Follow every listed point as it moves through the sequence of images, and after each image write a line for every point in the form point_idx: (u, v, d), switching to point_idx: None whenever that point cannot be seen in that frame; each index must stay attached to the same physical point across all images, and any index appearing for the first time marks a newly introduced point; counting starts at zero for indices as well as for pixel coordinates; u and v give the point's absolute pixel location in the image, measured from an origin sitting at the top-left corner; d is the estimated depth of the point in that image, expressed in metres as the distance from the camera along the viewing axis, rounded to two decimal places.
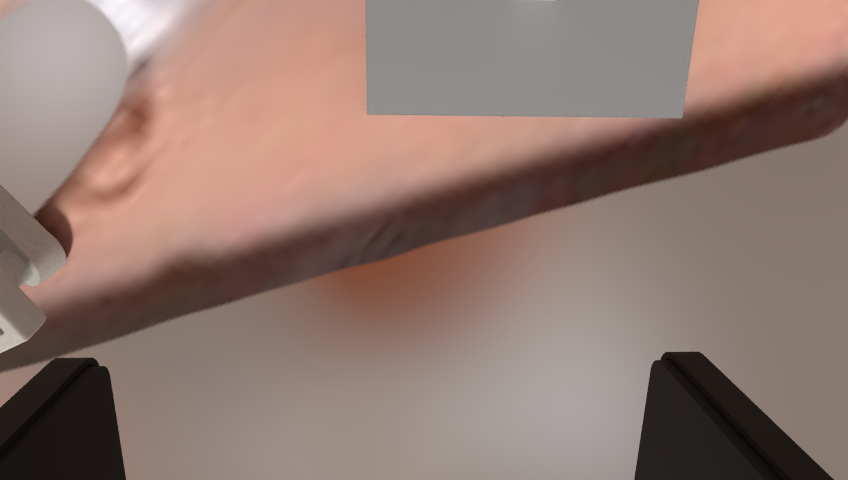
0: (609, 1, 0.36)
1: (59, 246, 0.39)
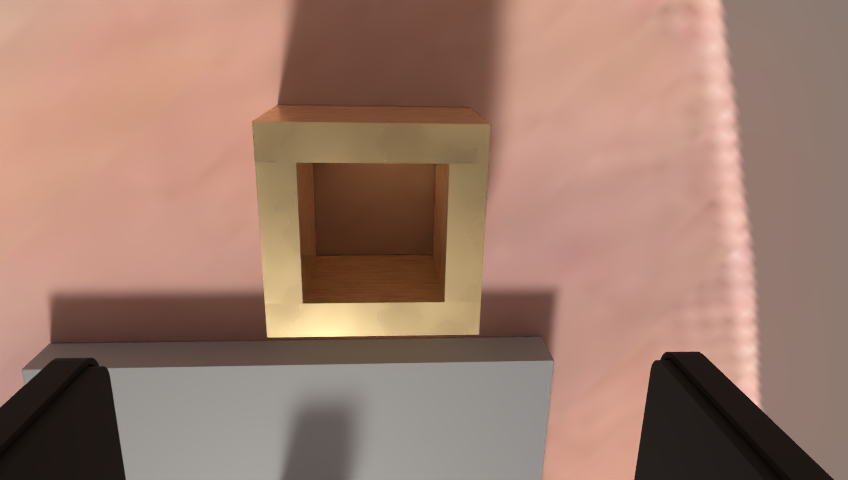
0: None
1: None
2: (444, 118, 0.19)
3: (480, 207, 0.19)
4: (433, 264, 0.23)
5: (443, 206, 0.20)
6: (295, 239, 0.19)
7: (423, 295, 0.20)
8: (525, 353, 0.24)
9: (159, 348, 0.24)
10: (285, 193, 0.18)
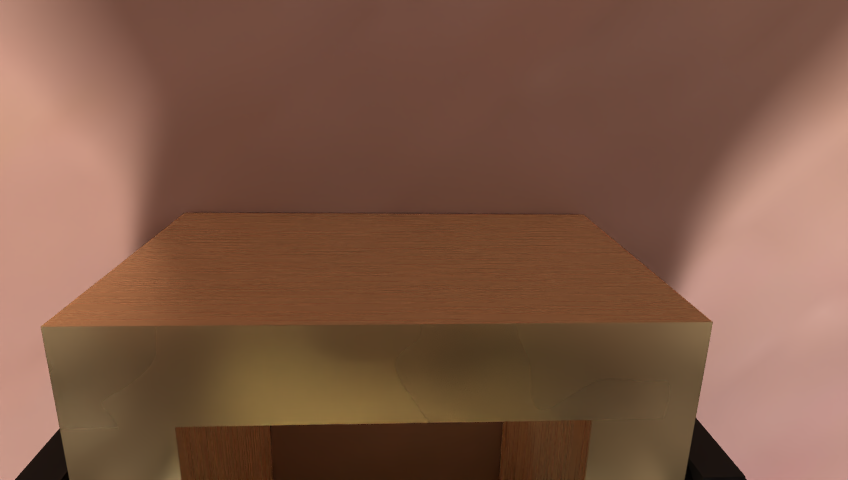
0: None
1: None
2: (565, 281, 0.08)
3: None
4: None
5: (550, 470, 0.08)
6: None
7: None
8: None
9: None
10: None
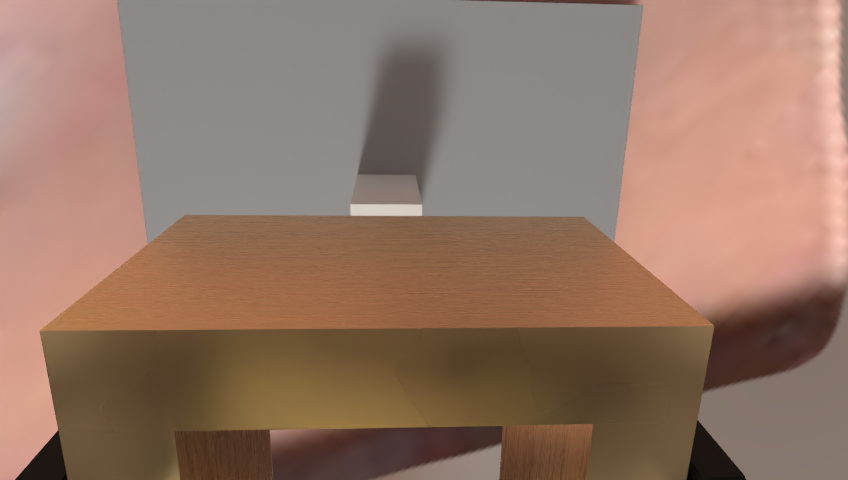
0: None
1: None
2: (566, 284, 0.07)
3: None
4: None
5: (551, 474, 0.08)
6: None
7: None
8: None
9: None
10: None
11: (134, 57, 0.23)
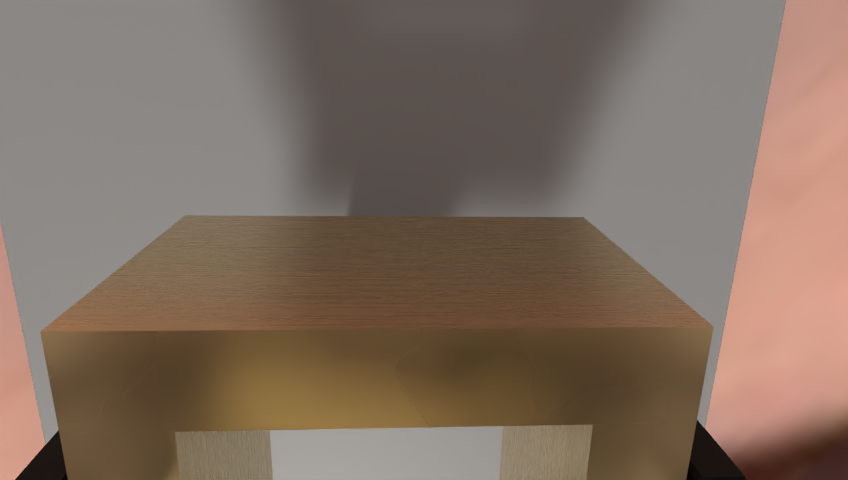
0: None
1: None
2: (566, 285, 0.07)
3: None
4: None
5: (550, 474, 0.08)
6: None
7: None
8: None
9: None
10: None
11: None
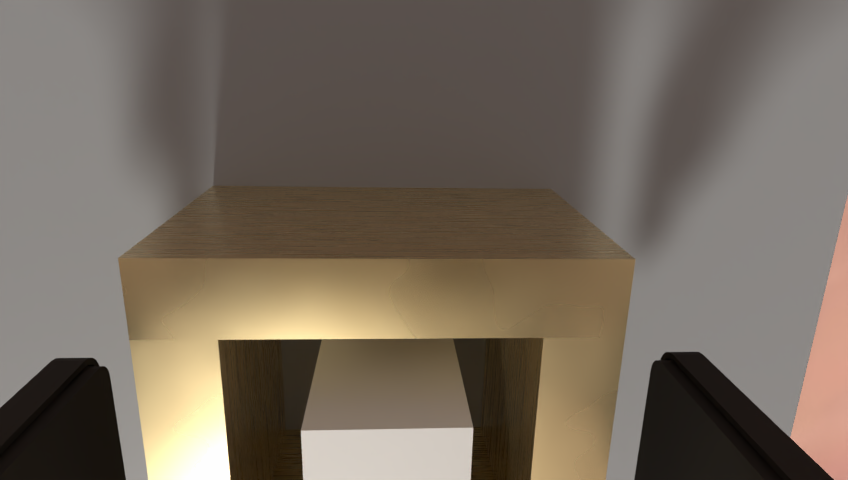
0: None
1: None
2: (526, 233, 0.09)
3: (602, 420, 0.09)
4: (484, 455, 0.13)
5: (517, 393, 0.10)
6: None
7: None
8: None
9: None
10: (198, 400, 0.09)
11: None
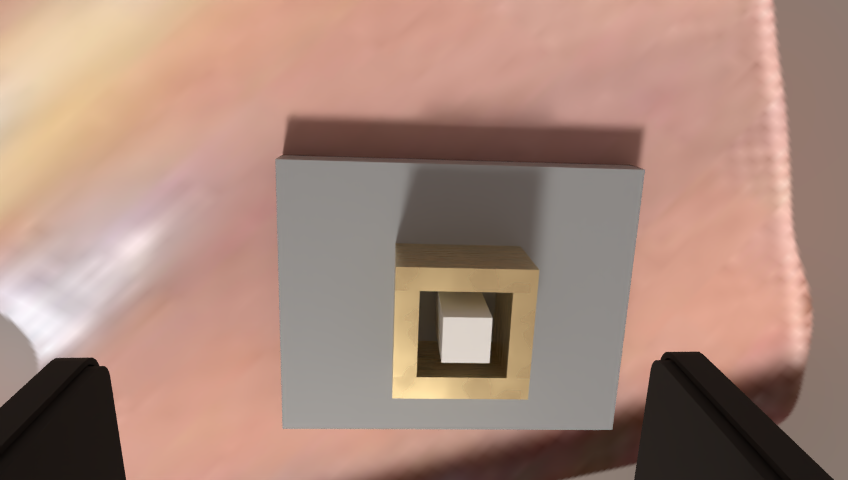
0: None
1: None
2: (509, 262, 0.30)
3: (531, 319, 0.30)
4: (494, 349, 0.34)
5: (506, 315, 0.31)
6: (415, 336, 0.30)
7: (492, 372, 0.31)
8: (623, 167, 0.33)
9: (361, 158, 0.33)
10: (411, 309, 0.29)
11: (283, 203, 0.32)
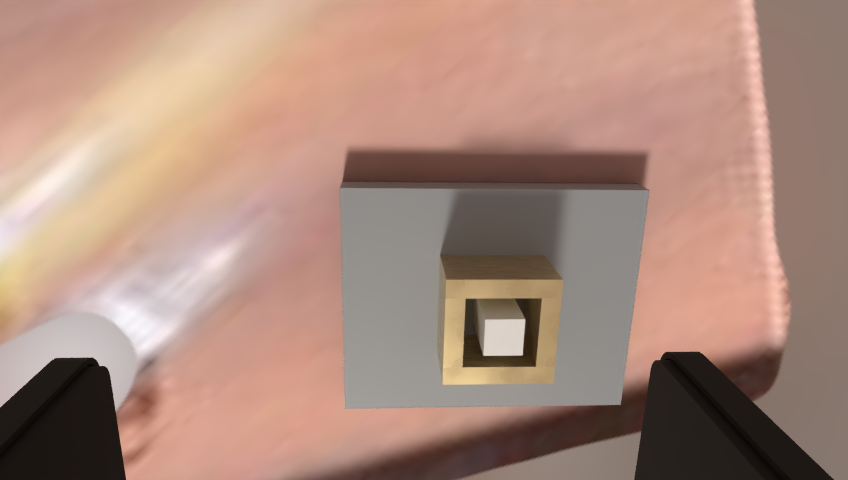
0: None
1: None
2: (537, 272, 0.37)
3: (556, 319, 0.36)
4: None
5: (534, 315, 0.38)
6: (462, 335, 0.36)
7: (523, 362, 0.38)
8: (630, 188, 0.39)
9: (409, 183, 0.39)
10: (459, 313, 0.36)
11: (346, 223, 0.38)
